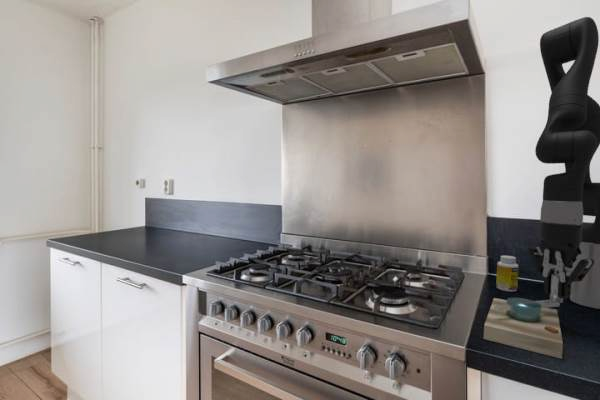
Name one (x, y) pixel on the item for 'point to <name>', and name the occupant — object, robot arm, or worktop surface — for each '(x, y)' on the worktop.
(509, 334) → the stand
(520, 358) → the worktop surface
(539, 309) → the teal knob with stem
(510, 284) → the supplement bottle
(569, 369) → the worktop surface
